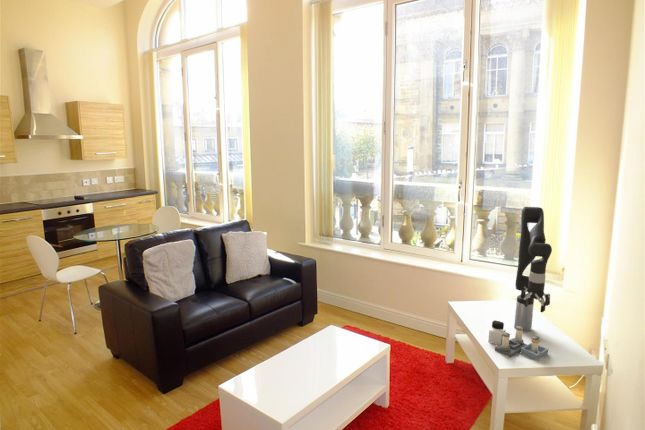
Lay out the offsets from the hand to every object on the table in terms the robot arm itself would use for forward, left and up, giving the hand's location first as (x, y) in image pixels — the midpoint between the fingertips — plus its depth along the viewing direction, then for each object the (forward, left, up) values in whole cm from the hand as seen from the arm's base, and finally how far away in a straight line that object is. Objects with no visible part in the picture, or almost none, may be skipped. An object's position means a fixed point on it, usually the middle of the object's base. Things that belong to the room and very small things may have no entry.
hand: (533, 309), depth 218 cm
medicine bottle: (+4, -17, -25) cm, 31 cm away
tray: (0, +3, -25) cm, 25 cm away
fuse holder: (+5, -7, -25) cm, 27 cm away
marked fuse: (0, +2, -24) cm, 24 cm away
